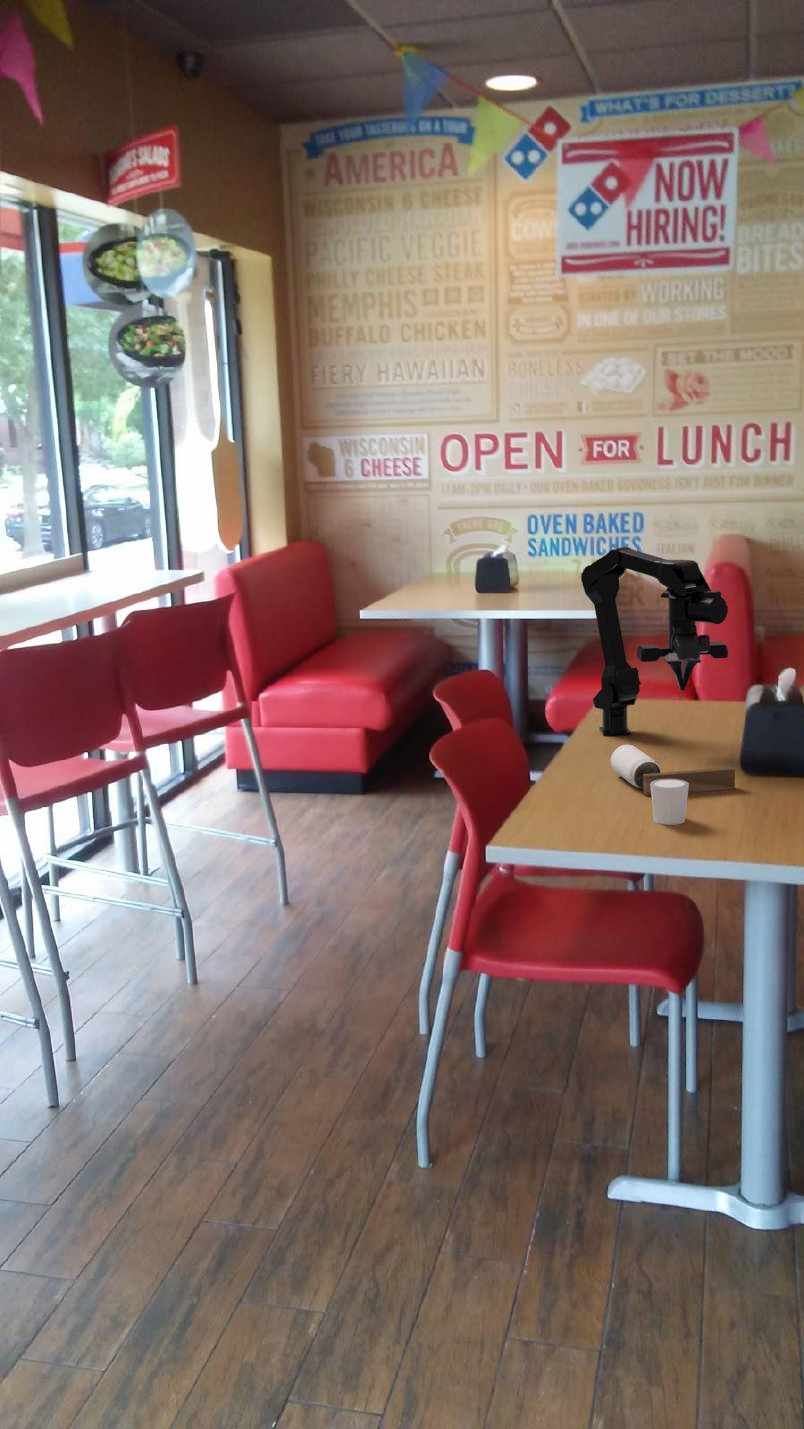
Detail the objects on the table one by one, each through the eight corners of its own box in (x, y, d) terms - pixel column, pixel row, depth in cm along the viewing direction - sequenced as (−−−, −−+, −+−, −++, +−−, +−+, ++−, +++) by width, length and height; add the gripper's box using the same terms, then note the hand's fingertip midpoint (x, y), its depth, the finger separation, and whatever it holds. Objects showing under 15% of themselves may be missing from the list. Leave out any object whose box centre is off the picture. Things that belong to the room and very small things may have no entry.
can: (603, 761, 264) (625, 778, 253) (624, 737, 264) (647, 753, 253) (625, 780, 266) (647, 797, 255) (645, 756, 266) (669, 773, 255)
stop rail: (643, 793, 252) (643, 774, 251) (731, 786, 254) (731, 766, 253) (645, 796, 251) (645, 776, 250) (734, 788, 253) (735, 769, 252)
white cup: (651, 825, 233) (651, 788, 231) (649, 814, 239) (649, 778, 238) (690, 825, 232) (690, 788, 230) (687, 814, 238) (687, 777, 237)
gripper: (645, 627, 270) (646, 700, 274) (735, 623, 270) (734, 696, 273) (636, 619, 281) (636, 689, 284) (721, 615, 281) (721, 685, 284)
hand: (682, 690), depth 281 cm, fingers closed
